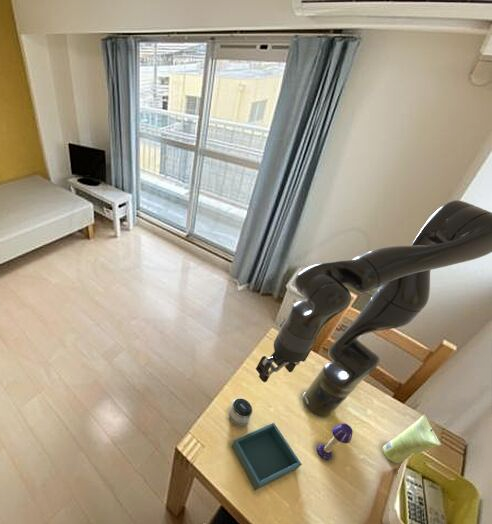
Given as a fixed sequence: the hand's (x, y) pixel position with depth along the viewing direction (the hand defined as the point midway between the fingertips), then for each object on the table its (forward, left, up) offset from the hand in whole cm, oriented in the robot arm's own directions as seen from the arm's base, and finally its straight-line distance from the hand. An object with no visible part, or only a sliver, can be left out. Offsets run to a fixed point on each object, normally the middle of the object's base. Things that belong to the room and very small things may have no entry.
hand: (275, 374), depth 81 cm
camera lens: (+4, -2, -28) cm, 29 cm away
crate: (+4, +11, -28) cm, 30 cm away
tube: (-34, +24, -28) cm, 50 cm away
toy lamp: (-15, +16, -28) cm, 36 cm away
